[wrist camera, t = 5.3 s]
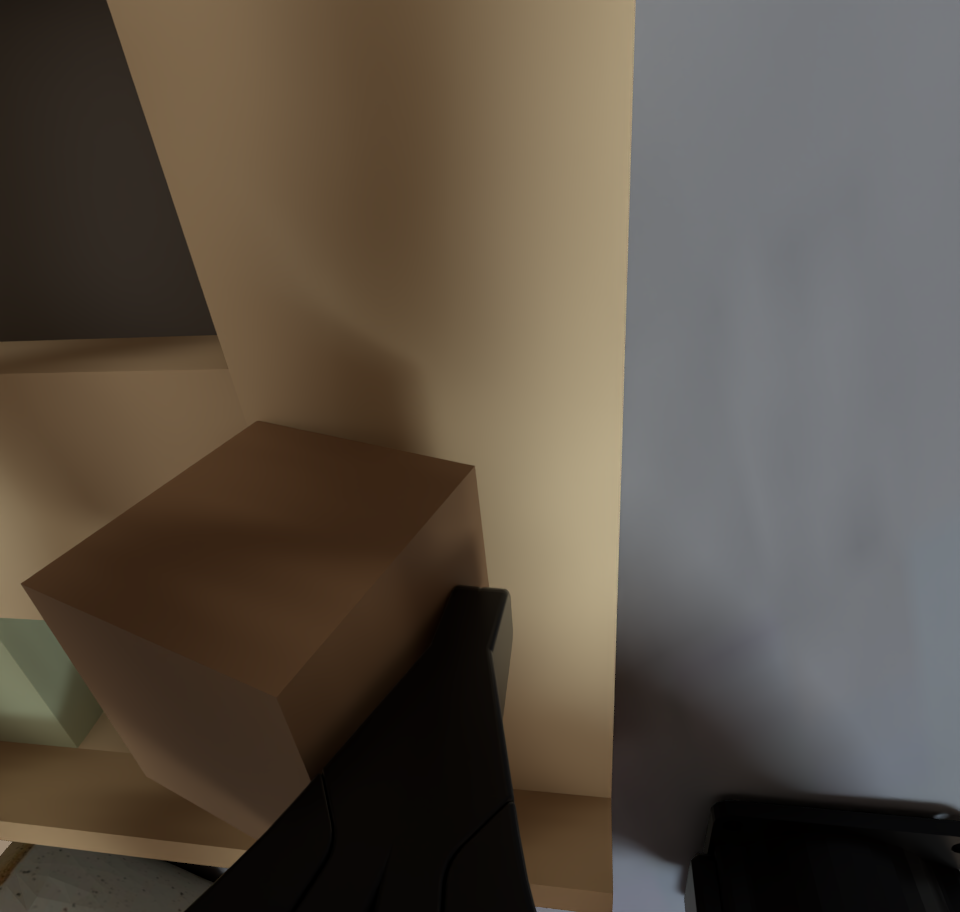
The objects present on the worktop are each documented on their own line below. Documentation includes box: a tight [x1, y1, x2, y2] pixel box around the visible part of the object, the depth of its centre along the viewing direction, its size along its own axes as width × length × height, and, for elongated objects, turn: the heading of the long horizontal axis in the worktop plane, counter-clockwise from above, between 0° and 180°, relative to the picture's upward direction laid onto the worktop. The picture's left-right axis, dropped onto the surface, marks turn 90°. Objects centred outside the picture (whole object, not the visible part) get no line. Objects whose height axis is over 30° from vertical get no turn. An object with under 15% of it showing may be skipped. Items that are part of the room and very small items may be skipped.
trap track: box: [0, 0, 635, 912], centre depth 12 cm, size 20×18×4 cm
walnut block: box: [21, 421, 489, 840], centre depth 9 cm, size 4×4×4 cm
